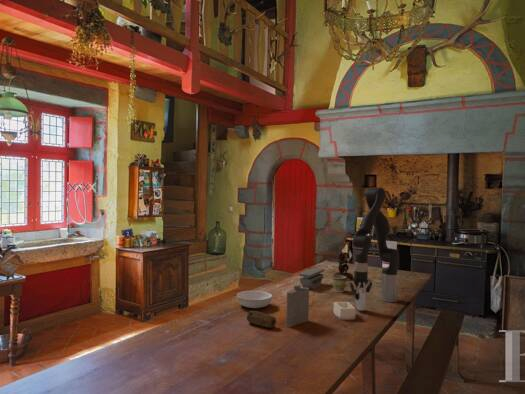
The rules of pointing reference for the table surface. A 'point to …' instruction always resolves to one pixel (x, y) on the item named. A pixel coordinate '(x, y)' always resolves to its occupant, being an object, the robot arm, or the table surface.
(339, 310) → the hollow off-white angular block
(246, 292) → the serving bowl
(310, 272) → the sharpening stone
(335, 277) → the ceramic cup
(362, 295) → the tall brushed metal block
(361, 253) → the robot arm
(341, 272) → the black knobby tall piece
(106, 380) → the table surface
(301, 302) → the hip flask
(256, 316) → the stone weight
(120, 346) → the table surface
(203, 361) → the table surface
